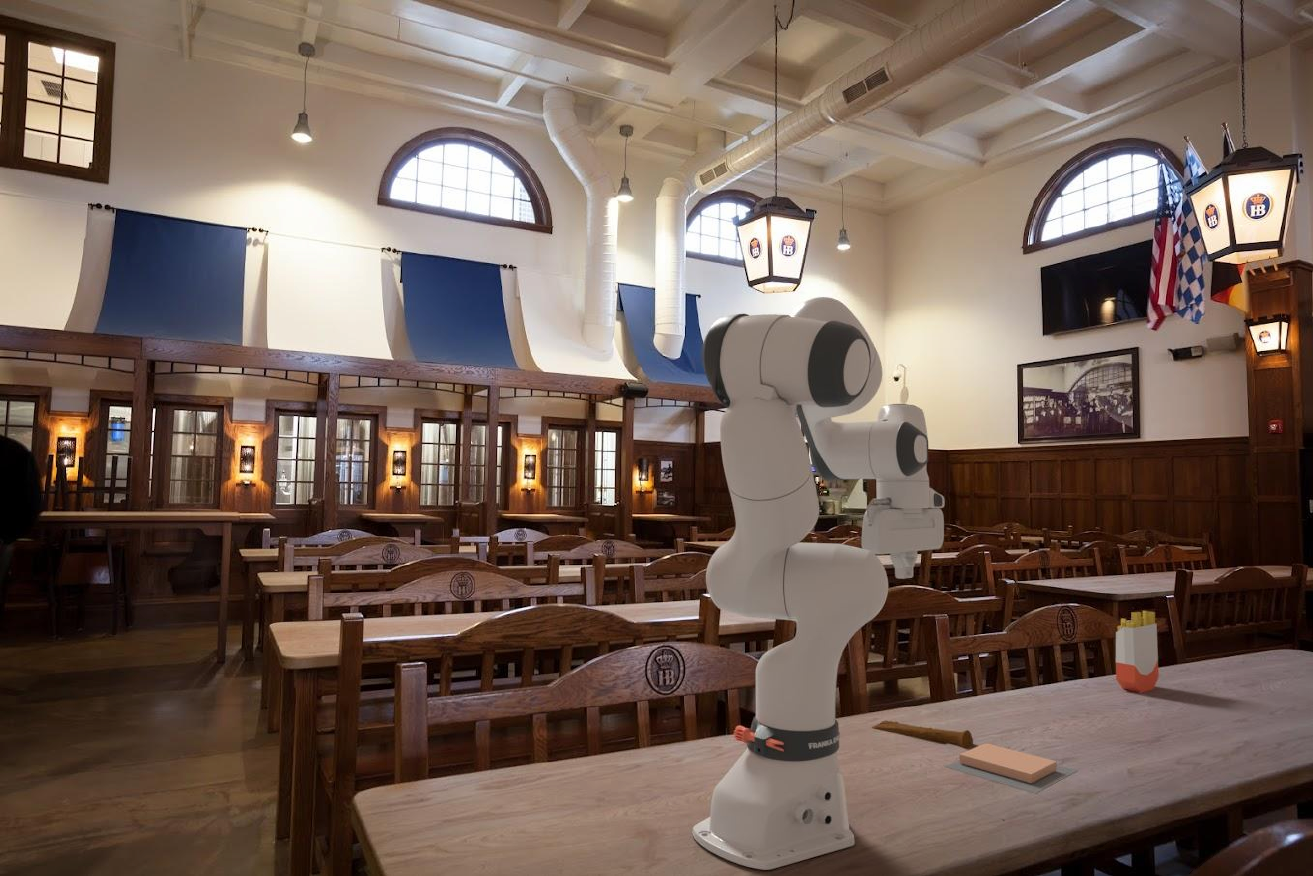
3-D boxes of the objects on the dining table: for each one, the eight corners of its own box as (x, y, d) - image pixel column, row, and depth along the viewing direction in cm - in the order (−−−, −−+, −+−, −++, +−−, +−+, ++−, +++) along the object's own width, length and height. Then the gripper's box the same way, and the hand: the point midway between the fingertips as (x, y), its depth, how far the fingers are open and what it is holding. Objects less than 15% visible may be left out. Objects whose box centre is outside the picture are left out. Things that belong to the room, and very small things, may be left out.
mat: (1035, 796, 120) (1035, 793, 120) (944, 769, 131) (944, 766, 131) (1077, 773, 130) (1077, 770, 130) (989, 749, 141) (989, 747, 141)
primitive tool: (870, 729, 154) (870, 711, 154) (884, 724, 158) (884, 706, 158) (966, 754, 140) (966, 734, 140) (980, 747, 144) (979, 727, 144)
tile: (1031, 774, 123) (959, 754, 133) (1031, 784, 123) (959, 764, 133) (1056, 761, 129) (986, 743, 138) (1056, 771, 129) (986, 752, 138)
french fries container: (1114, 690, 182) (1112, 611, 184) (1138, 683, 188) (1135, 607, 189) (1135, 694, 179) (1132, 614, 180) (1159, 687, 185) (1156, 610, 186)
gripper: (883, 498, 129) (885, 584, 128) (949, 497, 142) (951, 575, 141) (851, 498, 133) (852, 580, 133) (918, 497, 147) (919, 572, 146)
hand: (904, 578), depth 137 cm, fingers closed
